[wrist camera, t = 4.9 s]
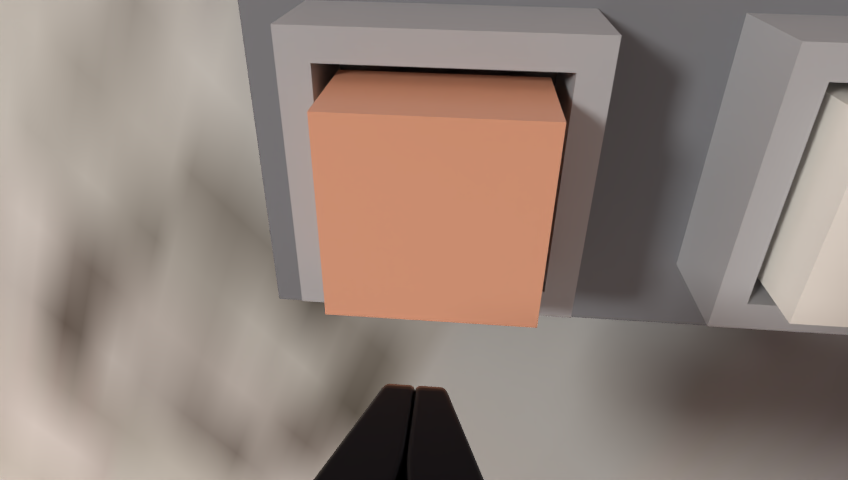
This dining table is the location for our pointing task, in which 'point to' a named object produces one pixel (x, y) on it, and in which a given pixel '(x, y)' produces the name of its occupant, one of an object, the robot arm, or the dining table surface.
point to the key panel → (586, 132)
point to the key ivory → (815, 225)
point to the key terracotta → (435, 194)
